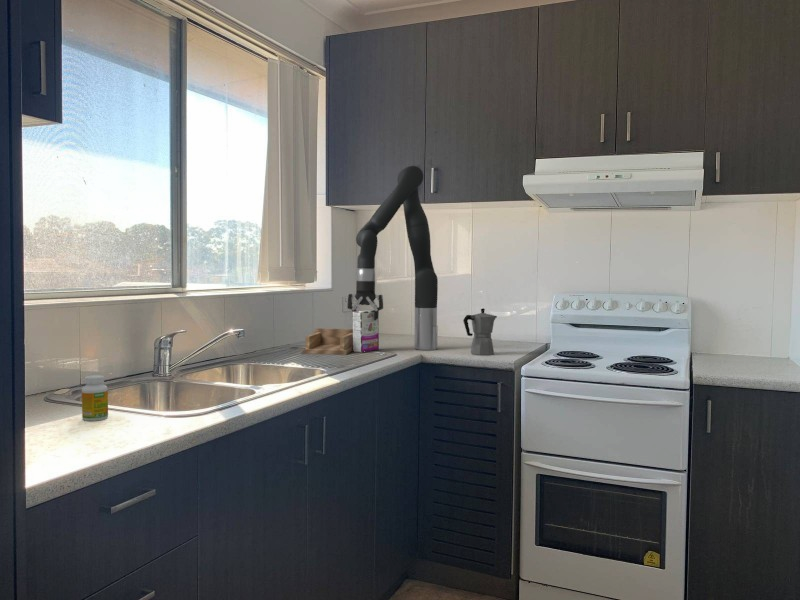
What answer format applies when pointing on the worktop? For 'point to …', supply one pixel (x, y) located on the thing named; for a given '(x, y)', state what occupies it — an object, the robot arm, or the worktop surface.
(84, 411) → the supplement bottle
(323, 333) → the walnut rack
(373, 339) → the candy bar box
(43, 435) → the worktop surface
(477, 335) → the coffeepot
